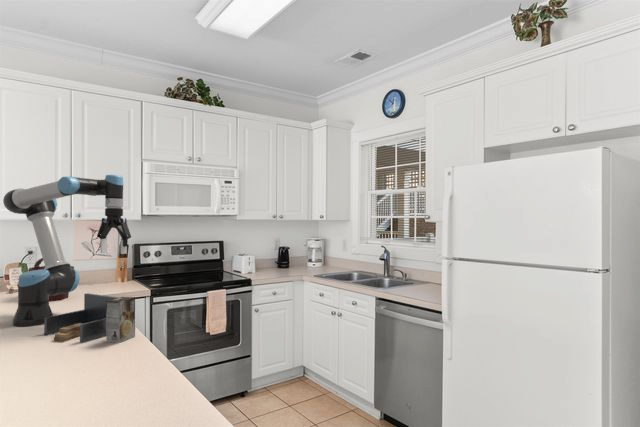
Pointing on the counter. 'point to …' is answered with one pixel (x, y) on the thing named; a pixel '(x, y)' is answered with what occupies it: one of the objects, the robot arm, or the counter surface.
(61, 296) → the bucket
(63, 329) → the offcut stack
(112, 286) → the counter surface
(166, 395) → the counter surface
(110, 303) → the coffee box
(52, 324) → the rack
